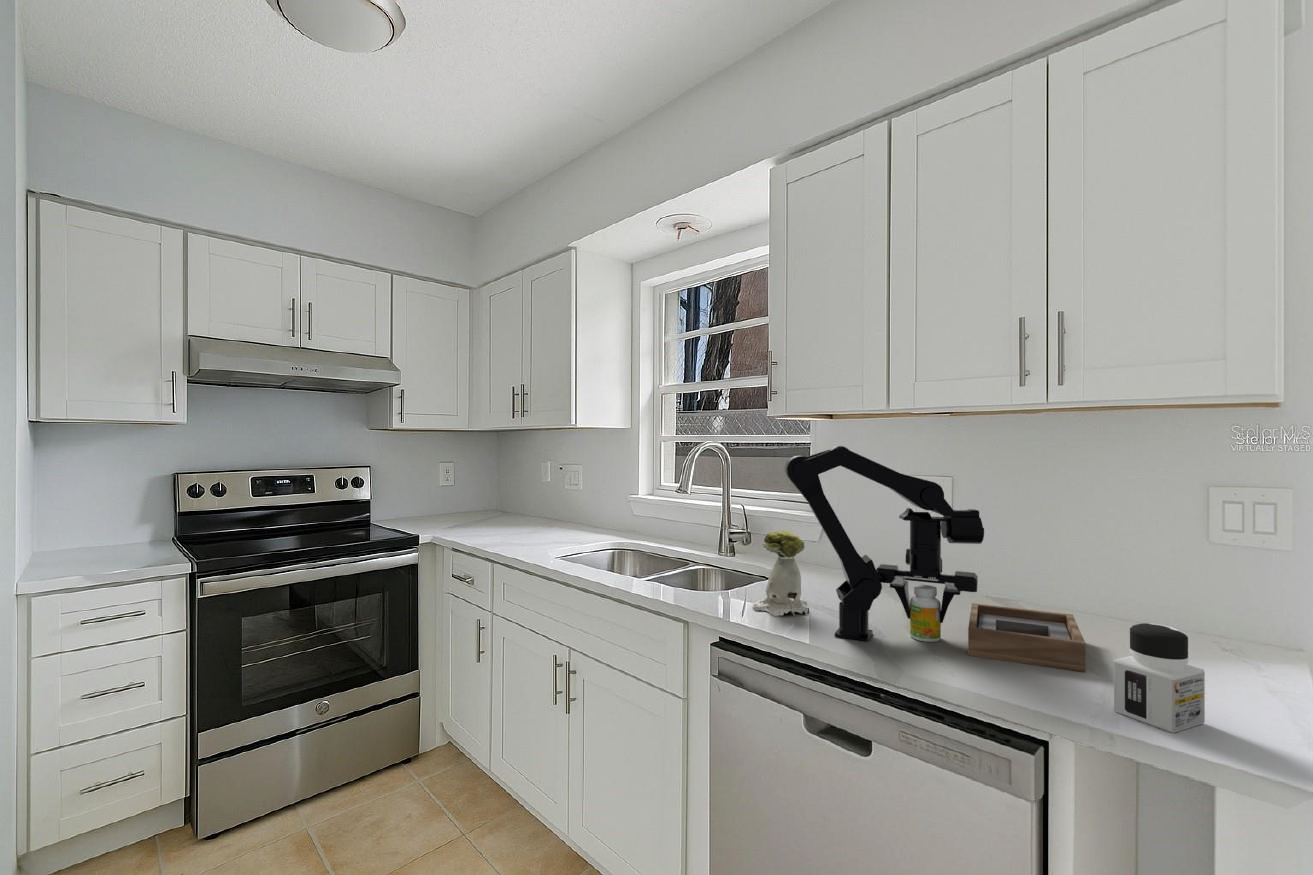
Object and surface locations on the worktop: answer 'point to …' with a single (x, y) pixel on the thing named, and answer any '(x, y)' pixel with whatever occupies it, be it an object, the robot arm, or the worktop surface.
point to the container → (1159, 680)
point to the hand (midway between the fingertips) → (925, 620)
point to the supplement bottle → (925, 614)
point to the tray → (1026, 637)
